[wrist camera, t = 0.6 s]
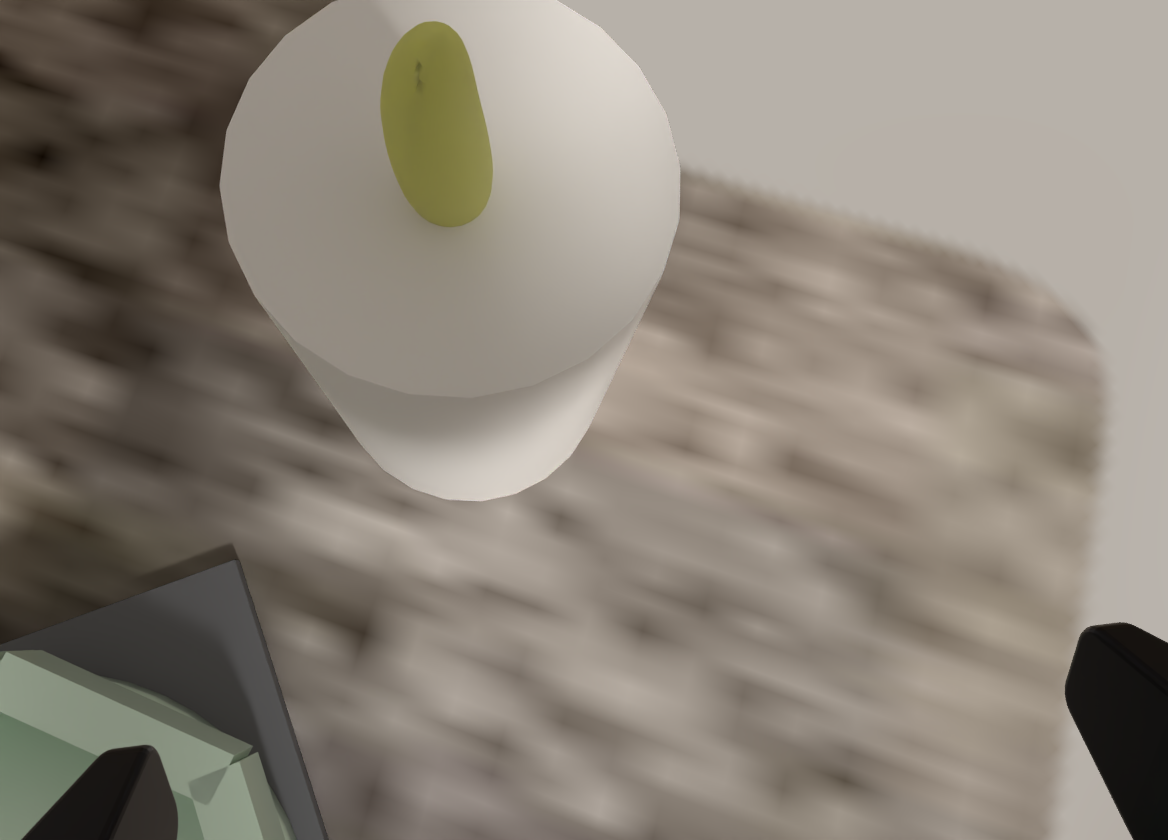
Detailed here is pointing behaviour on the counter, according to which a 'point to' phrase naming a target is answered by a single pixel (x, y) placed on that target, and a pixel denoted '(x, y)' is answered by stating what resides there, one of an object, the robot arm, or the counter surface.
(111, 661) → the mat
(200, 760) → the dish
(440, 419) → the candle
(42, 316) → the counter surface
